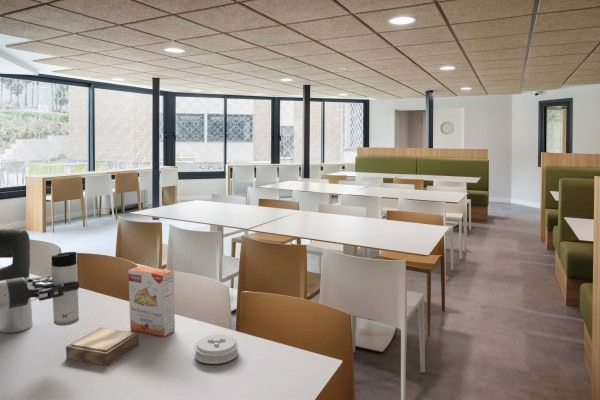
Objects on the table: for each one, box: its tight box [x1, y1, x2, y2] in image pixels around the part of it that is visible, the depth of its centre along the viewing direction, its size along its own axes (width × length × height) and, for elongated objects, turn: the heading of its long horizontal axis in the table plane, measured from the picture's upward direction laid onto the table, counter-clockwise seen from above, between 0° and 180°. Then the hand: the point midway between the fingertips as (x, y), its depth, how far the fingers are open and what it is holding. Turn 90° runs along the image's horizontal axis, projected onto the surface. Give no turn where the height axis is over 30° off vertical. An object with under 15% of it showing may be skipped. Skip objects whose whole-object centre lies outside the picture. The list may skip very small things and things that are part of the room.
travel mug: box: [51, 251, 80, 327], centre depth 124 cm, size 6×7×20 cm
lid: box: [194, 334, 239, 365], centre depth 131 cm, size 13×13×5 cm
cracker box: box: [127, 265, 176, 338], centre depth 146 cm, size 14×6×21 cm, turn 68°
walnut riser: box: [65, 327, 140, 367], centre depth 133 cm, size 14×14×4 cm
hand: (74, 282), depth 126 cm, fingers closed on travel mug, 6 cm apart
